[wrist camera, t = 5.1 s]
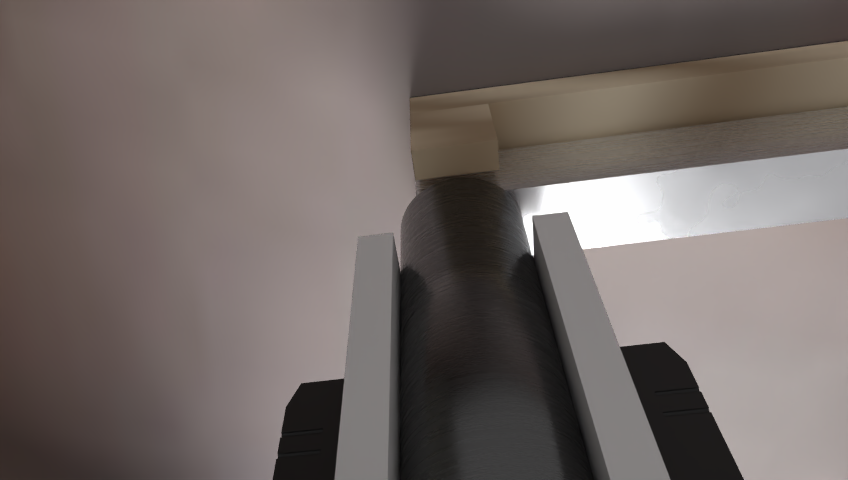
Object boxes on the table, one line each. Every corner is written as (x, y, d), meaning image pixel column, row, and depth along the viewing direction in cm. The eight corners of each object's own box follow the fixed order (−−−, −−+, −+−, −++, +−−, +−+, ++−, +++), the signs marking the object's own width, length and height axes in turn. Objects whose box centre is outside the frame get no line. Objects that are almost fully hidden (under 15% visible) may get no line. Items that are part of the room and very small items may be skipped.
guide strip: (429, 231, 20) (433, 294, 17) (409, 97, 17) (410, 150, 15) (898, 175, 19) (970, 233, 17) (949, 27, 17) (1044, 70, 14)
